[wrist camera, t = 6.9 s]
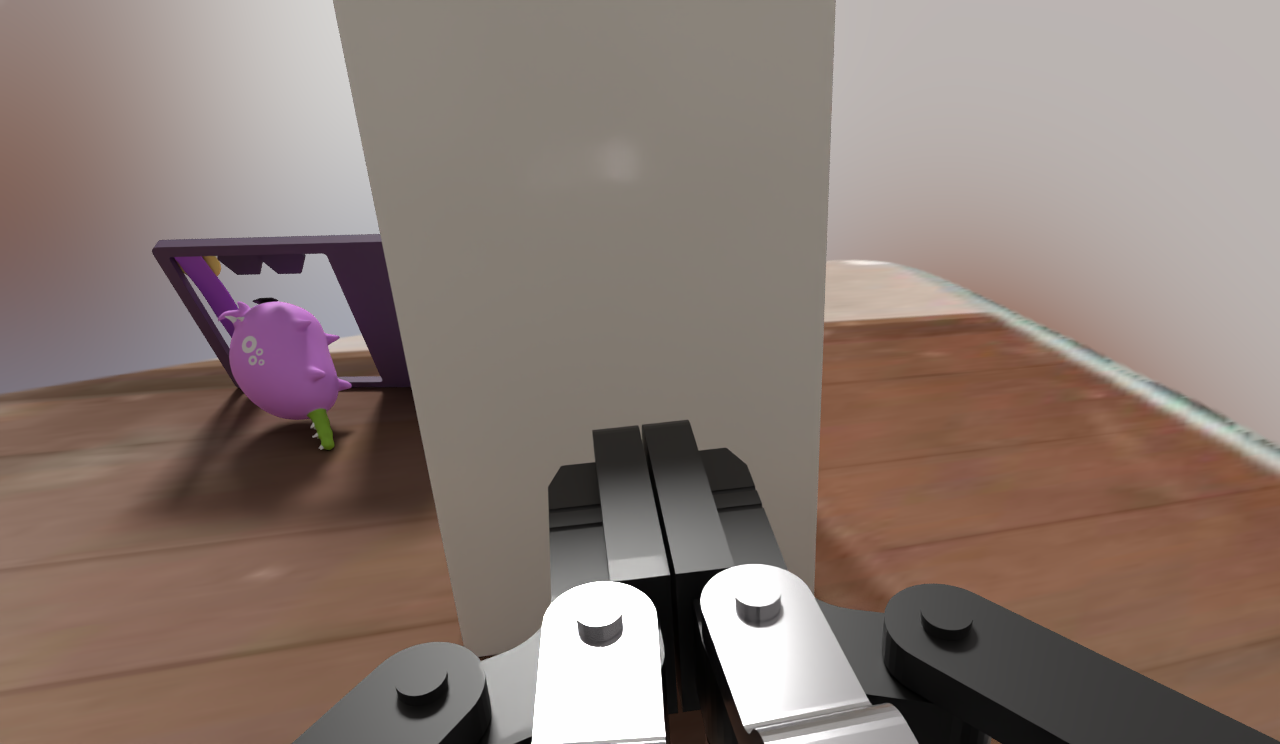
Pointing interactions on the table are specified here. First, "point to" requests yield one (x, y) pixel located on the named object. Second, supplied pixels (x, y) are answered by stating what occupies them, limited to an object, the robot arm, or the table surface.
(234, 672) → the table surface
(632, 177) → the off-white rectangular block
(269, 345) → the purple frame
